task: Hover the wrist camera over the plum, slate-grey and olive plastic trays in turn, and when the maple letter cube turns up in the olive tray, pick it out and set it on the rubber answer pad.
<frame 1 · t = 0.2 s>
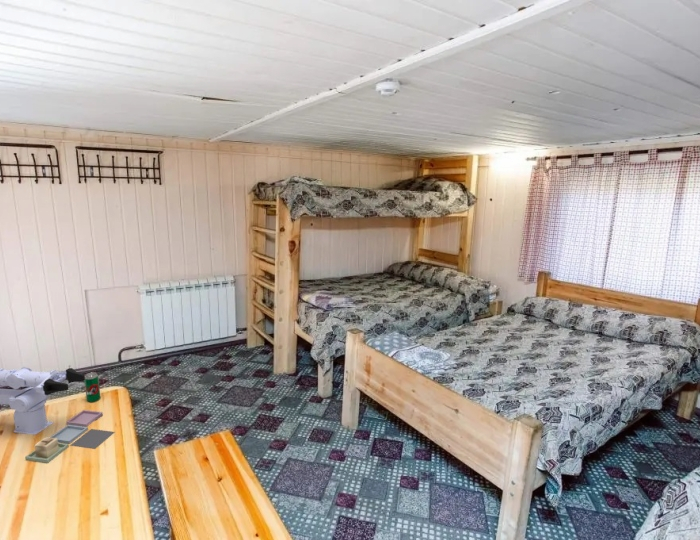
hand: (76, 382, 145), 21 cm above the table, tool horizontal, fingers open, 7 cm apart
soda can: (93, 400, 172), on the table
tray near: (47, 454, 138), on the table
tray mid: (68, 436, 148), on the table
answer pad: (93, 439, 146), on the table
letter cube: (47, 453, 138), resting on tray near
tray far: (85, 420, 157), on the table
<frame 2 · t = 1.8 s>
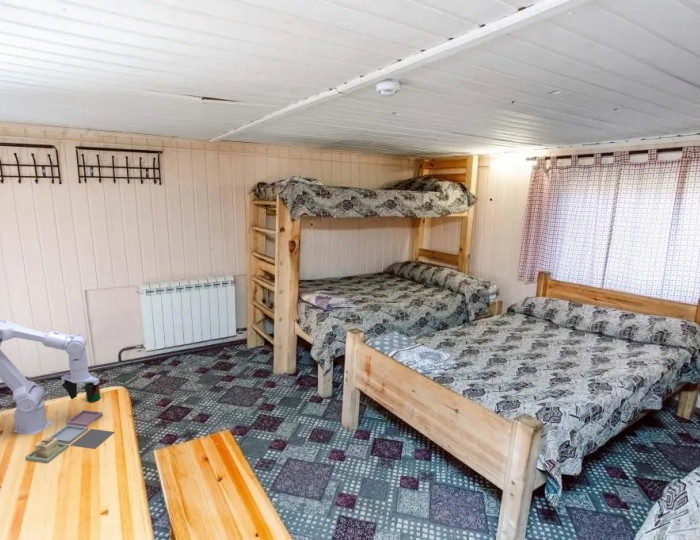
hand: (82, 398, 155), 9 cm above the table, tool pointing down, fingers open, 7 cm apart
nothing on the table moved.
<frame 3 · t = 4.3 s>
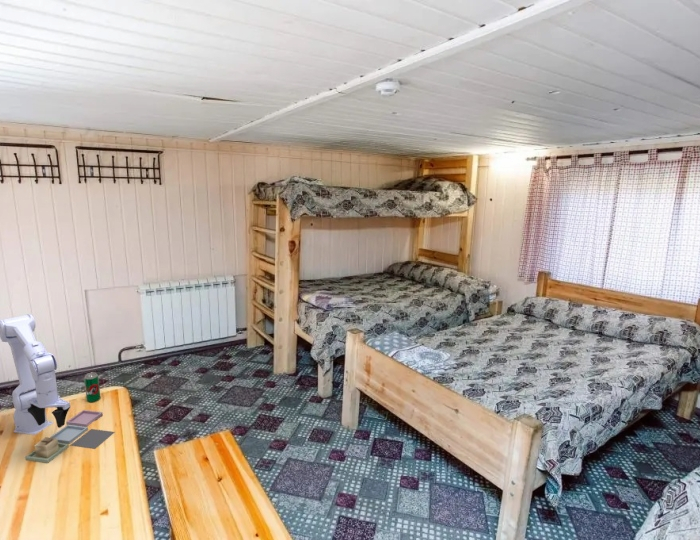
hand: (51, 424, 139), 9 cm above the table, tool pointing down, fingers open, 7 cm apart
nothing on the table moved.
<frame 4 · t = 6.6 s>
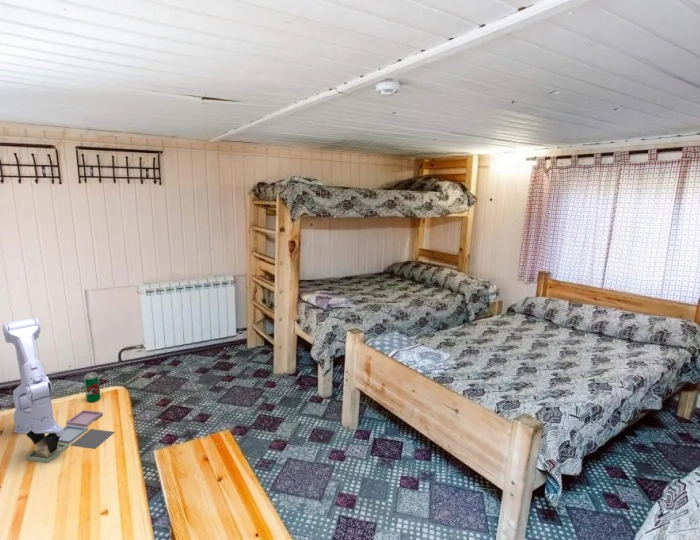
hand: (47, 449, 137), 2 cm above the table, tool pointing down, fingers closed on letter cube, 5 cm apart
letter cube: (47, 453, 138), resting on tray near, touching gripper
everything else where it was.
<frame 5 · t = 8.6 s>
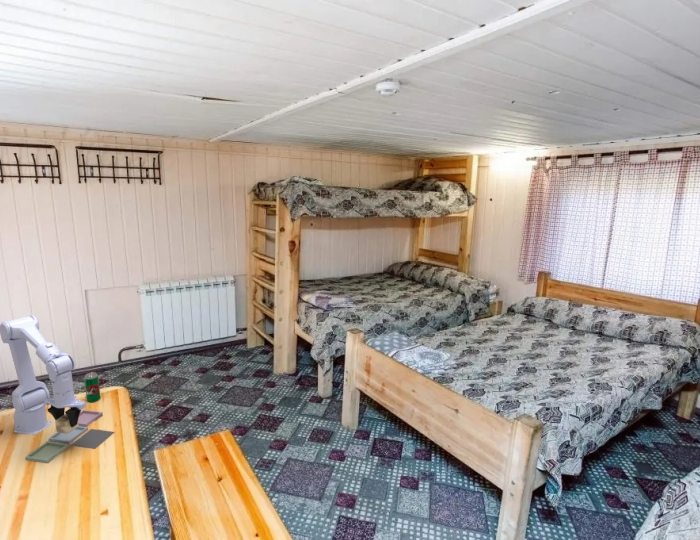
hand: (67, 424, 140), 9 cm above the table, tool pointing down, fingers closed on letter cube, 5 cm apart
letter cube: (67, 429, 140), point 7 cm above the table, touching gripper
everything else where it was.
when the fingers open (3 cm above the table, at t = 10.6 s): letter cube stays where it is, resting on answer pad.
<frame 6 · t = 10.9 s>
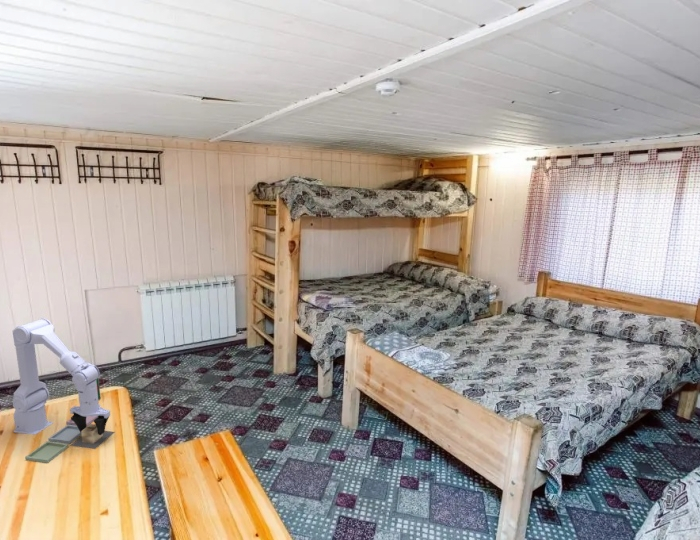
hand: (92, 432, 146), 3 cm above the table, tool pointing down, fingers open, 7 cm apart
letter cube: (92, 438, 146), resting on answer pad
everything else where it was.
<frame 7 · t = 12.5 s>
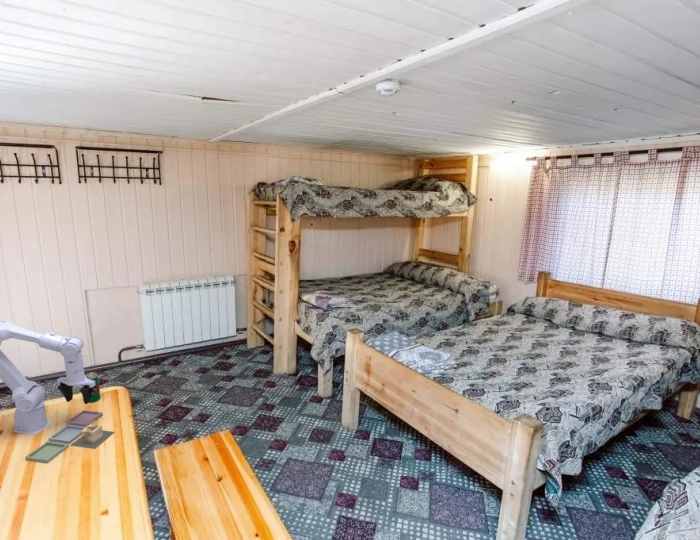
hand: (78, 401, 154), 9 cm above the table, tool pointing down, fingers open, 7 cm apart
nothing on the table moved.
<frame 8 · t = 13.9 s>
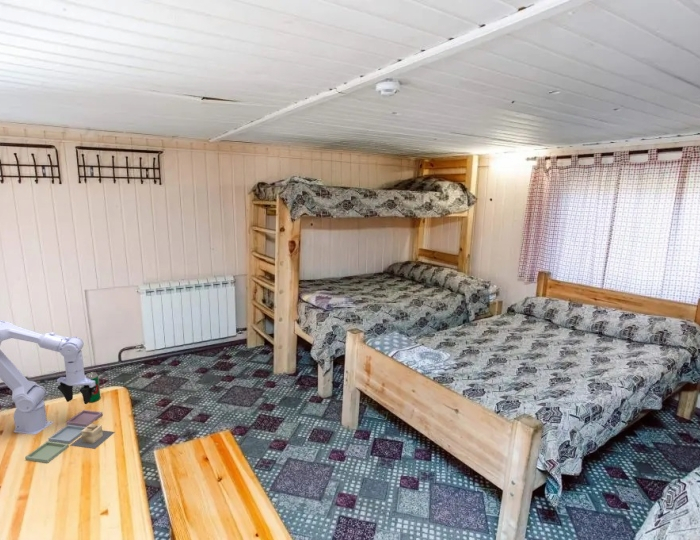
hand: (78, 401, 154), 9 cm above the table, tool pointing down, fingers open, 7 cm apart
nothing on the table moved.
at the end: letter cube inside the target area on the answer pad (0.2 cm from its centre), point 0.4 cm above the answer pad's base; letter cube tilted 0°; the gripper is holding nothing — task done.
